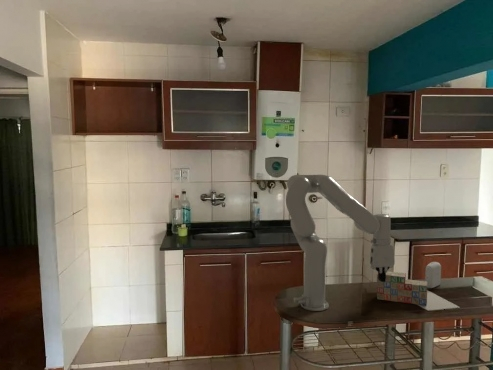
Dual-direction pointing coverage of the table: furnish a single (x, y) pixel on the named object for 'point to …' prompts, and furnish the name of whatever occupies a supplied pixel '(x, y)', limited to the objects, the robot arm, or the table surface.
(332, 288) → the table surface
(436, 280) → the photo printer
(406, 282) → the stack of blocks
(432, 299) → the mat
